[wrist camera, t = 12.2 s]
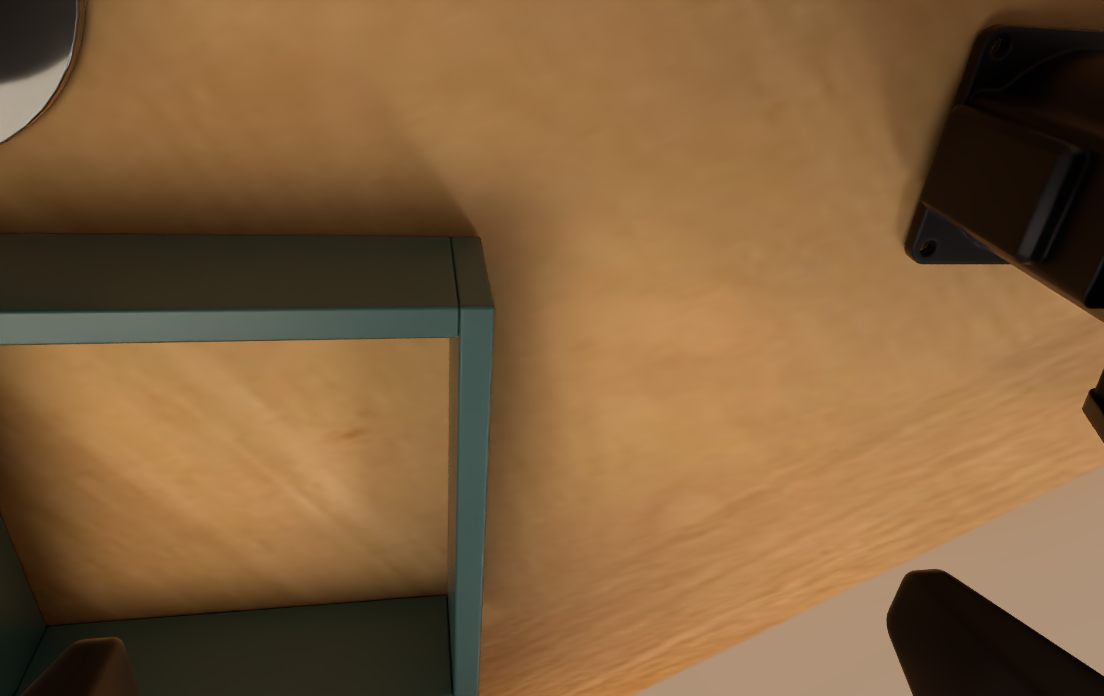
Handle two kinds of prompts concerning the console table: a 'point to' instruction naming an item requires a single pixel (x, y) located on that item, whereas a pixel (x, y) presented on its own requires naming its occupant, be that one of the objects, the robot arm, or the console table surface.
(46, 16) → the coaster
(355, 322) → the frame
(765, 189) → the console table surface
